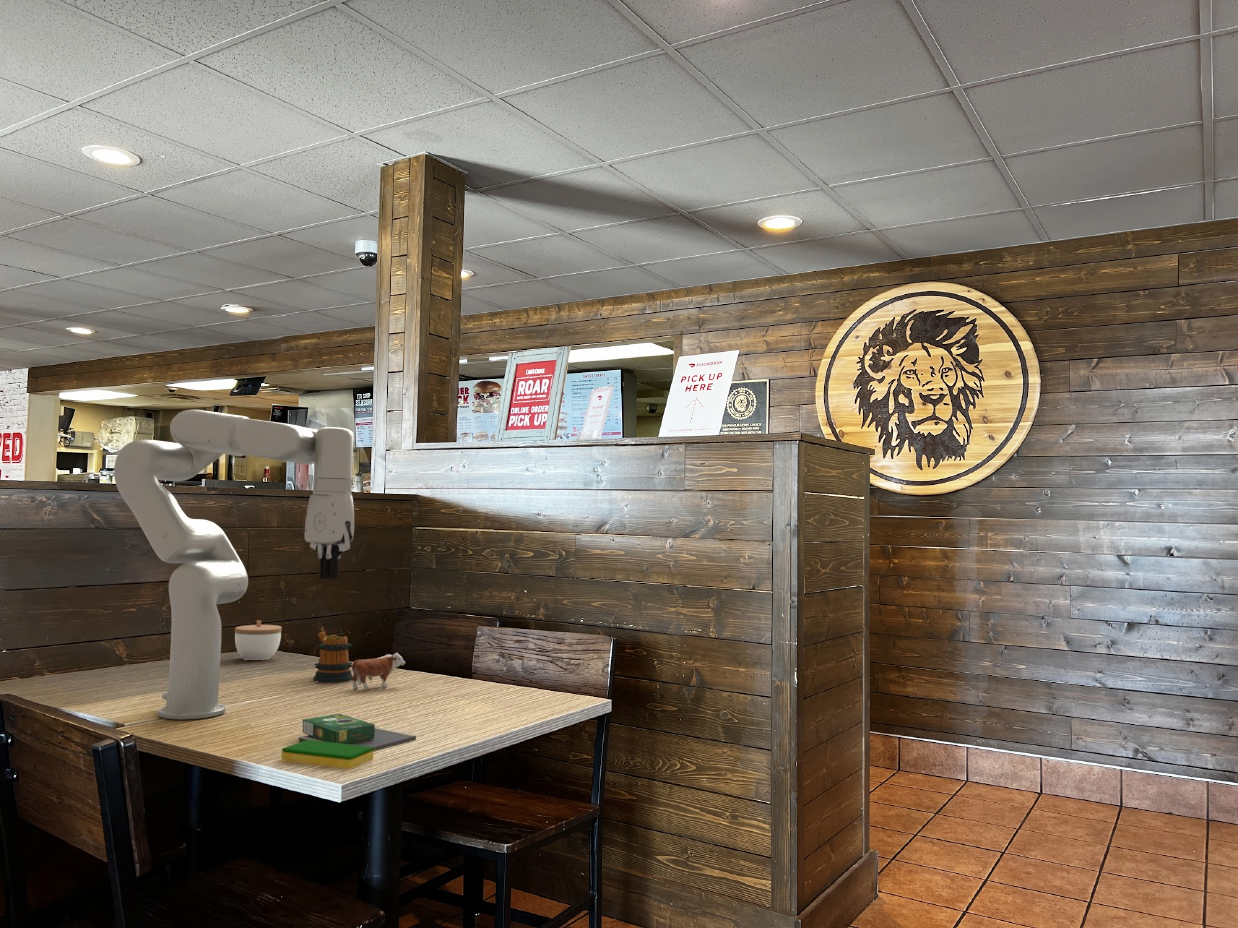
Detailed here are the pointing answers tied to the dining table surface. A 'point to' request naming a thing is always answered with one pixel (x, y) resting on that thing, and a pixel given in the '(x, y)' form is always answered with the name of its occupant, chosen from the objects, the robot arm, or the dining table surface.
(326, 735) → the coffee box
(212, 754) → the dining table surface
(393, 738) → the mat
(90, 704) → the dining table surface
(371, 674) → the bull figurine
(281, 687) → the dining table surface
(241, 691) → the dining table surface
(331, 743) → the dish sponge
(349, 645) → the mug
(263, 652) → the lidded bowl
